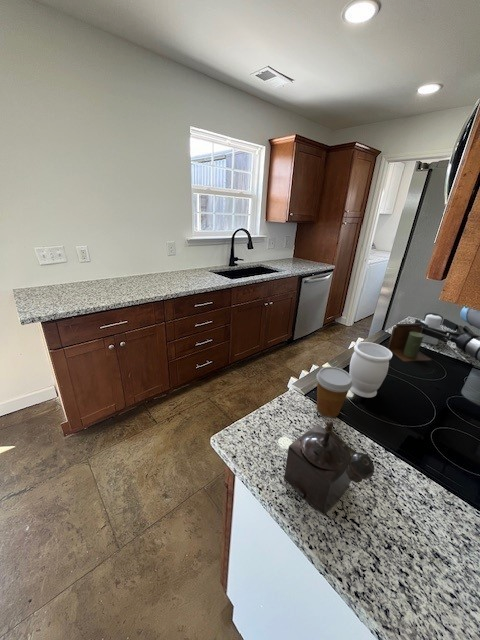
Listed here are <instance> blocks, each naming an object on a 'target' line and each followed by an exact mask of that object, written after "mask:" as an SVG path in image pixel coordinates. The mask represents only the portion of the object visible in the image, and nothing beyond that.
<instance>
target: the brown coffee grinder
mask: <svg viewBox="0 0 480 640" xmlns="http://www.w3.org/2000/svg"><path fill="white" fill-rule="evenodd" d="M333 428H334V422H332V420H329V421H327V422H326V425H325V427H324V426H322V425H320V424H319V423H318V424H315V425H314V426H313V427H311V428H310V429H309V430H307V431H306V432H305V433H304V434H302V435H301V436H299V437H298V438H297V439H295V440H294V441H293V442H291V444H290V445H288V449H287V455H286V463H285V469H284V475H283V478H284V479H285V481H286V482H287V483H288V484H289V485H290V486H291V487H292V488H293V489H294V490H295V492H296V493H297V494H298V495H299V496H300V497H301V498H302V499H303V500H305V501H306V502H307V503H308V504H309V505H311V507H313V508H314V510H316V511H317V512H319V513H320V514H322V515H325V514H326V513H328V512H329V511H330V510H331V509H332V508H333V507H334V506H335V505H336V504H337V503H338V502H339V501H340V500H341V498H342V497H343V496H344V495H345V493H346V491H347V489H348V488H349V486H350V485H351V483H352V482H354V483H355V484H359V483H361V482H362V481H363V480H368V479H370V478H372V477H373V476H374V473H375V465H374V464H375V463H374V462H373V461H372V459H371V457H370V456H369V455H367V454H366V453H364V452H361V451H356V450H354V449H353V448H352V447H351V446H349V445H348V443H347V442H345V441H344V440H342V438H341V437H340V436H339V435H338V434H337V433H336V432H334V430H333ZM351 481H352V482H351Z"/></svg>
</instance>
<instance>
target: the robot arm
mask: <svg viewBox="0 0 480 640" xmlns="http://www.w3.org/2000/svg"><path fill="white" fill-rule="evenodd" d="M459 313H460V314H459V315H460V318H461V320H462V321H464V322H465V323H467V324H468V325H469V326H472V327H474V328H476V329H478V330H480V311H477V310H473V309H470V308H465V306H464V307H462V308H461V310H460V312H459ZM421 321H422V320H419V319H415V320H414V323H421V326H422V330H421V333H422V334H425V335H428V336H430V337H433V338H436V339H439V340H438V341H441V342H443V343H445V344H448V342H451V343H454V344H455V347H456V349H457V350H459V351H460V352H463V353H464V354H466V355H468V356H470V357H471V358H473V359H474V360H475V361H477V362H480V335H478V334H476V333H475V332H474V331H473V330H472V329H471V328H470V327H469V326H468V325H460V324H457V323H455V322H453V321H451V320H449V319H447V318H443V320H442V323H441V326H442V325H443V326H444V327H446V328H448V329H450V330H452V331H450V330H443V329H441V330H439V329H435V328H431V327H428V325H427V324H425V323H423V322H421Z"/></svg>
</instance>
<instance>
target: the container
mask: <svg viewBox="0 0 480 640" xmlns="http://www.w3.org/2000/svg"><path fill="white" fill-rule="evenodd" d="M443 320H444V317H443V316H442V314H441V315H440V314H438V313H435V312H426V313H425V314H424V317H423V320H420V321H421V322H423V323H425V324H427V325H428V327H431V328H435V329H439V330H442V323H443ZM421 334H422V333H421ZM423 335H424V337H423V340H422V343H427V344H430V345H436V346H437V345H438V343H439V341H440V340H439V339H436V338H433V337H430V336H428V335H425V334H423Z"/></svg>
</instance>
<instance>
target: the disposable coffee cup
mask: <svg viewBox="0 0 480 640" xmlns="http://www.w3.org/2000/svg"><path fill="white" fill-rule="evenodd" d="M316 380H317V388H316V393H317V394H316V395H317V396H316V410H317V412H318V413H319V414H320V415H322V416H324V417H326V418H336V417H338V416H339V414H340V412H341V411H342V408H343V405H344V403H345V400H346V398H347V396H348V393H349V391H350V388H351V387H352V385H353V382H352V378H351V376H350V374H349V373H348V371H346V370H344V369H343V368H340V367H336V366H324V367H322V368H320V369H319V371H318V372H317V373H316Z"/></svg>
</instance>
